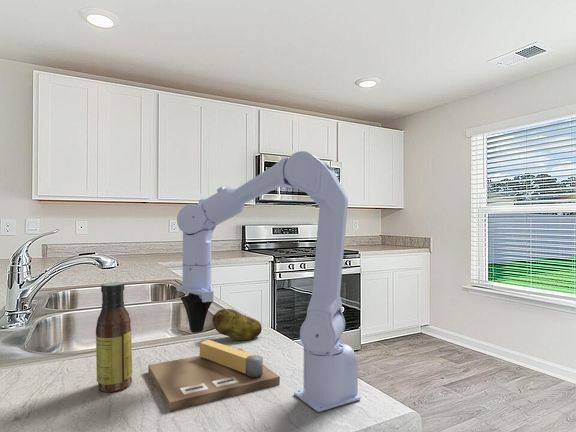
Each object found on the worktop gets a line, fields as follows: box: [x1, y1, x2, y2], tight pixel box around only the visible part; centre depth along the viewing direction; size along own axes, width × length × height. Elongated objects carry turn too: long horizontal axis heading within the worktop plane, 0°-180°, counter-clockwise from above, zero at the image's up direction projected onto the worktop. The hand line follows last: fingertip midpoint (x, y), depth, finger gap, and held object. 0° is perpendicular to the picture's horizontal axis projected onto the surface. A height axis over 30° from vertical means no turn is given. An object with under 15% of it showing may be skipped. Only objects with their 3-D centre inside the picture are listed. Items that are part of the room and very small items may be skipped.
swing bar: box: [199, 339, 264, 377], centre depth 79 cm, size 18×3×3 cm, turn 50°
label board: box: [147, 348, 281, 412], centre depth 76 cm, size 21×19×2 cm
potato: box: [211, 308, 263, 341], centre depth 102 cm, size 8×13×8 cm, turn 82°
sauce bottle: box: [95, 281, 133, 393], centre depth 72 cm, size 7×6×20 cm
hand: (196, 331), depth 77 cm, fingers closed
